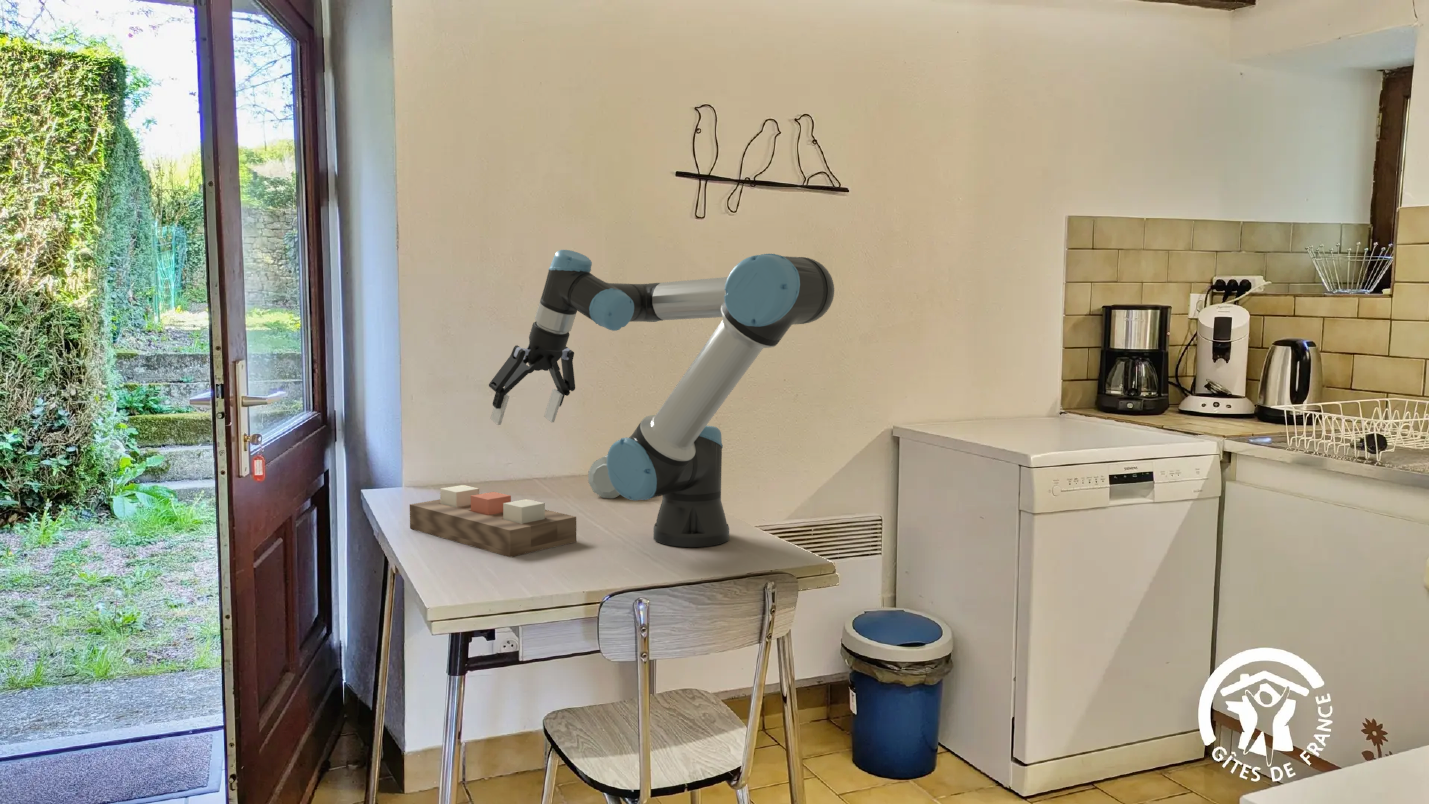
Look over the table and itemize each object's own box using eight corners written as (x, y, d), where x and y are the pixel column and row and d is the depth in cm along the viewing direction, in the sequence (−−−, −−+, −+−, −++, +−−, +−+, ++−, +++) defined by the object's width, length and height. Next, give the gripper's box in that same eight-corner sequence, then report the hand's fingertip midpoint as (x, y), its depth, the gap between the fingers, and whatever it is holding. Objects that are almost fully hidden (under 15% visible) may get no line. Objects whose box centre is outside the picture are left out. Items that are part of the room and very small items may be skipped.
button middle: (511, 517, 200) (510, 495, 199) (488, 522, 195) (487, 499, 195) (493, 513, 203) (493, 491, 203) (470, 517, 199) (470, 495, 199)
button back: (479, 509, 206) (479, 488, 206) (456, 514, 202) (456, 492, 202) (463, 506, 210) (463, 485, 210) (440, 510, 206) (440, 488, 205)
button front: (544, 526, 193) (544, 503, 192) (521, 530, 189) (521, 507, 188) (526, 521, 196) (526, 499, 196) (503, 526, 192) (503, 503, 192)
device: (626, 500, 235) (626, 458, 234) (586, 498, 237) (586, 456, 236) (659, 479, 265) (660, 442, 264) (623, 477, 267) (624, 440, 266)
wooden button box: (576, 541, 195) (576, 516, 194) (510, 557, 183) (509, 530, 182) (475, 516, 216) (474, 493, 216) (410, 528, 204) (409, 504, 204)
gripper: (588, 321, 209) (559, 410, 216) (489, 316, 191) (461, 413, 198) (610, 336, 205) (580, 426, 212) (511, 332, 186) (481, 432, 193)
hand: (522, 420), depth 205 cm, fingers open, 13 cm apart
